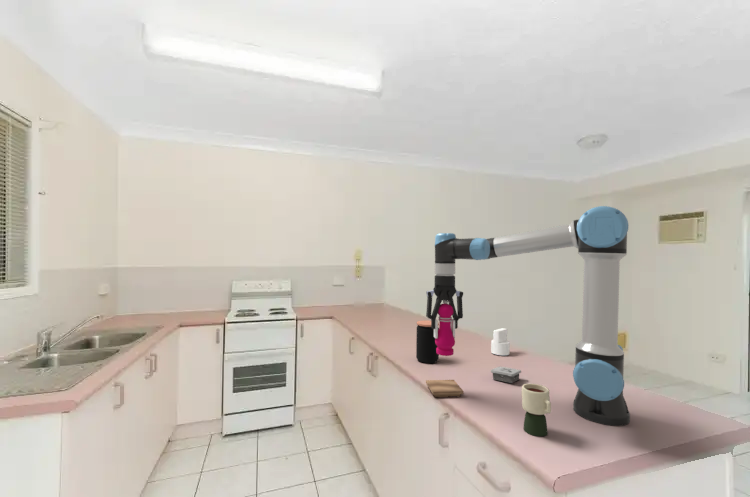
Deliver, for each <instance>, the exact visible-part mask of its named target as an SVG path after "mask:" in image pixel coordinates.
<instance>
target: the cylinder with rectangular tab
mask: <svg viewBox="0 0 750 497" xmlns="http://www.w3.org/2000/svg"><path fill="white" fill-rule="evenodd" d="M492 333H493V334H492V335H493V336H492V338H493V339H491V342H490V352H491V354H494V355H497V356H509V355H510V354H511V353H510V341H509V340H508V328H504V327H501V328H497V329H494V330H493V332H492Z"/></svg>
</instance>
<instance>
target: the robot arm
mask: <svg viewBox="0 0 750 497" xmlns="http://www.w3.org/2000/svg"><path fill="white" fill-rule="evenodd" d="M628 232H629V220H628V218H627V216H626V215H625V214H624V213H623V212H622V211H621V210H619V209H618V208H615V207H613V206H607V205H601V206H595V207H592V208H590V209H588V210H587V211H585V212H584V213H583V214H582V215H581V216H580V217H579V219H574V220H572V221H571V222H570V223H569V224H562V225H559V226H553V227H546V228H540V229H535V230H530V231H524V232H519V233H513V234H507V235H503V236H502V235H501V236H497V237H496V236H495V237H491V238H482V237H475V238H473V237H471V238H470V237H469V238H457V237H456V234H455V233H452V232H449V233H448V232H444V233H443V232H440V233H437V234H435V237H434V238H435V239H434V274H435V275H434V286H433V289H432V290H427V291H426V297H427V298H426V315H425V316H426V318H428V319H429V320H430V321H431V327H432V329H434V337H435V338H438V328H439V325H438V323H439V320H438V319H437V317H438V315H439V314H438V310H439V307H440V304H442V303H443V300H447V301H448V304H449V305H451V306H452V308H453V315H452V316H451V317H452V321H451V331H452V333H453V336H454V339H456V329H458V327H459V326H458V323H459V320H461V319H463V317H464V313H463V312H464V311H463V296H464V292H463V291H461V290H457V289H456V276H455V275H456V260H474V261H481V260H484V261H485V260H490V259H495V258H502V257H507V256H514V255H522V254H529V253H530V254H531V253H535V252H536V253H537V252H543V251H552V250H557V249H565V248H571V247H574V248H576V249H577V251H578V252H577V254H578V255H579V256H580V257H582V259H583V282H582V283H583V285H582V287H583V288H582V290H583V291H582V318H581V320H582V322H581V325H582V327H581V339H580V341H578V343H576V344H575V358H574V359H575V362H574V367H573V370H572V378H573V381H574V383H575V386H576V387H577V388H578V389H577V392H576V395H575V396H574V399H573V402H572V406H573V407H572V410H573V411H574V412H575V414H577V415H578V416H579V417H581V418H584V419H586V420H588V421H591V422H593V423H598V424H602V425H606V426H614V427H615V426H617V427H618V426H626V425H629V424H630V422H631V414H630V410H629V408H628V404H627V402H626V399H625V397H624V389H625V388H624V387H625V379H624V369H625V368H624V367H625V366H624V365H625V364H624V363H625V351H624V349H623V347H622V346H621V345H620V344H618V343H619V342H618V337H619V335H618V334H619V305H620V304H619V300H620V299H619V298H620V296H619V295H620V266H621V263H620V261H621V259H623V258H624V257H626V256H627V254H628V250H627V249H628ZM434 295H435V296H436V299H435V303H434V306H433V297H434ZM454 296H456V306H457V307H455V303H454V302H455V301H454V299H453V297H454ZM432 306H433V307H432ZM432 308H433V310H432ZM456 308H457V309H456Z"/></svg>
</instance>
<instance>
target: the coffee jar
mask: <svg viewBox="0 0 750 497" xmlns="http://www.w3.org/2000/svg"><path fill="white" fill-rule="evenodd" d="M439 325H440V322H438V326H439ZM438 330H439V327H438ZM415 340H416V345H415V346H416V347H415V348H416V352H415V354H416V360H417V361H418V362H420V363H425V364H434V363H437V362H438V360H439V357H440V355H438V354H437V353H436V348H437V347H438V346H437V345H436V343H435V337H434V329H432V327H431V320H418V321H416V339H415Z"/></svg>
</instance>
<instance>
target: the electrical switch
mask: <svg viewBox="0 0 750 497" xmlns="http://www.w3.org/2000/svg"><path fill="white" fill-rule="evenodd" d="M490 373H492V380H496V381H499V382H504V383H509V384H514V383H515V382H517V381H519V380H520V374H521V373H522V369H516V368H511V367H506V366H501V365H500V366H497V367H494V368H492V369H490Z"/></svg>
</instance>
